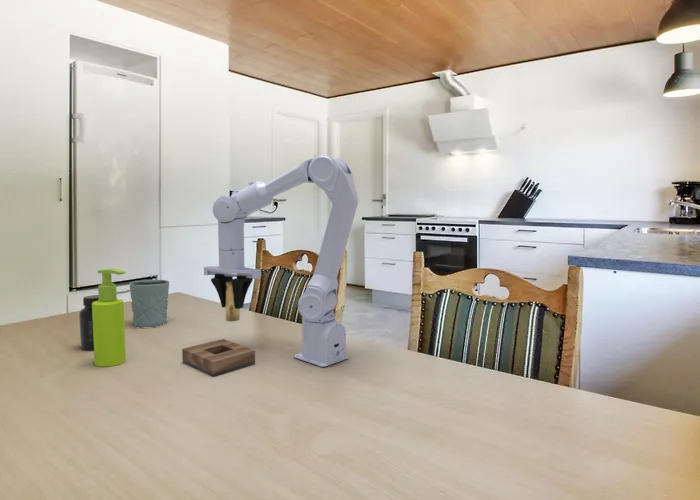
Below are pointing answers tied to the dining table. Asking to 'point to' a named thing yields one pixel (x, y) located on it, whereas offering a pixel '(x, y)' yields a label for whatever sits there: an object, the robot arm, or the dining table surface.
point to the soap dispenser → (108, 323)
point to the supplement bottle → (87, 323)
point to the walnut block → (218, 357)
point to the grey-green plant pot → (149, 302)
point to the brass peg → (230, 303)
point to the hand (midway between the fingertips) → (232, 307)
